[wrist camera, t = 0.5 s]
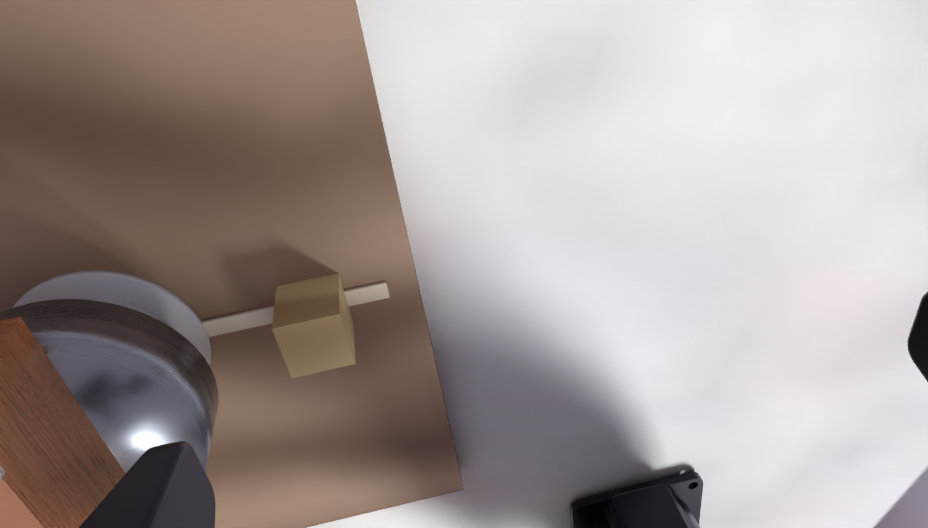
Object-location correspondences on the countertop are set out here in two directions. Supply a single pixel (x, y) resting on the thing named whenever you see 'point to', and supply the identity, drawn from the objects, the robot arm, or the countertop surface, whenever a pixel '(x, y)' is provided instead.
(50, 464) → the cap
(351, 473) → the post board
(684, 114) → the countertop surface
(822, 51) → the countertop surface
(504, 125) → the countertop surface
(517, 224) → the countertop surface
